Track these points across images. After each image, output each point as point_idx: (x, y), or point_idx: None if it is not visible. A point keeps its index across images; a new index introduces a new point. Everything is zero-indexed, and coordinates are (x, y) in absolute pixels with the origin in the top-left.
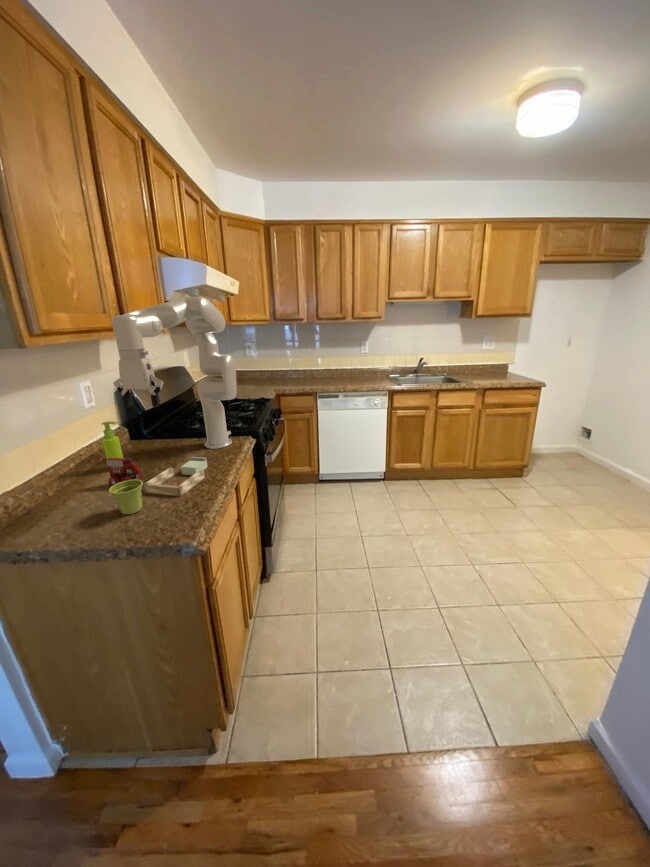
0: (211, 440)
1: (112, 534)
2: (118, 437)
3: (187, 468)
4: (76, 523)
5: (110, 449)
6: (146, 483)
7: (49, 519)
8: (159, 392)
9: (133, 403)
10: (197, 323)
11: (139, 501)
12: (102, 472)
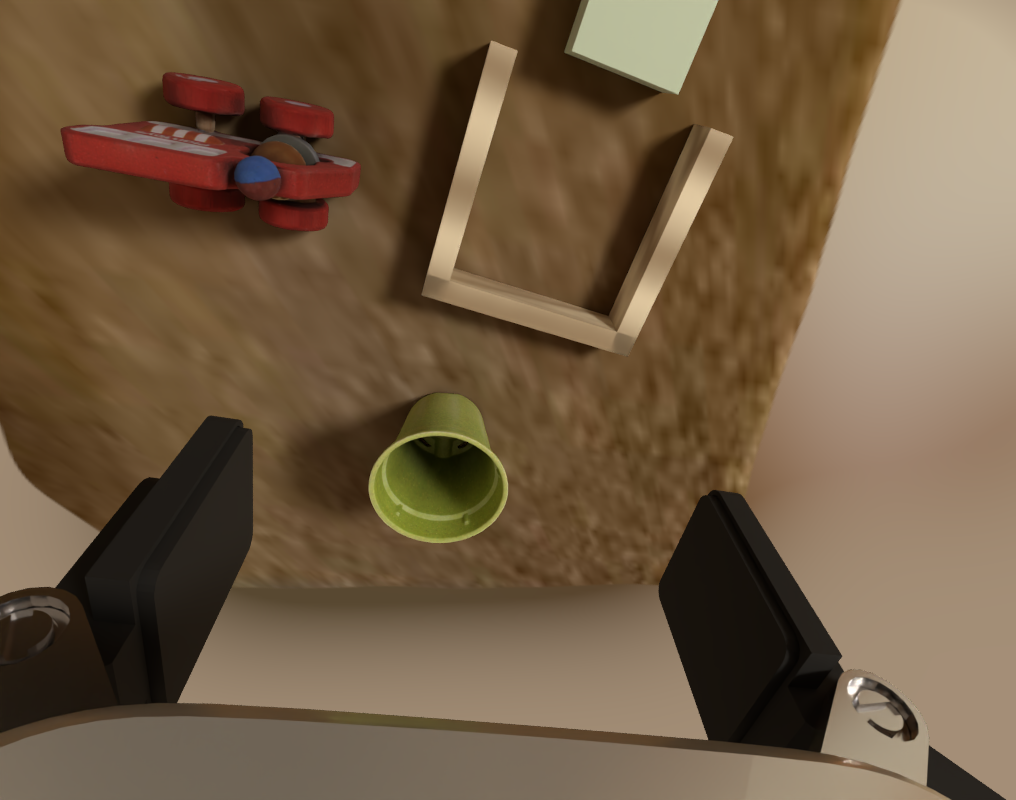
0: None
1: (453, 545)
2: None
3: (619, 71)
4: (282, 484)
5: None
6: (435, 279)
7: (145, 452)
8: (901, 701)
9: (243, 437)
10: None
11: (487, 455)
12: None
